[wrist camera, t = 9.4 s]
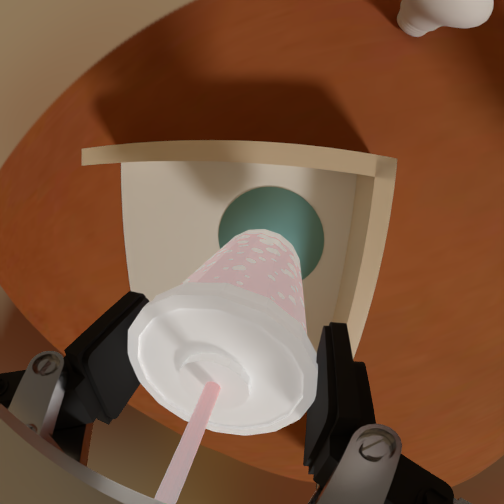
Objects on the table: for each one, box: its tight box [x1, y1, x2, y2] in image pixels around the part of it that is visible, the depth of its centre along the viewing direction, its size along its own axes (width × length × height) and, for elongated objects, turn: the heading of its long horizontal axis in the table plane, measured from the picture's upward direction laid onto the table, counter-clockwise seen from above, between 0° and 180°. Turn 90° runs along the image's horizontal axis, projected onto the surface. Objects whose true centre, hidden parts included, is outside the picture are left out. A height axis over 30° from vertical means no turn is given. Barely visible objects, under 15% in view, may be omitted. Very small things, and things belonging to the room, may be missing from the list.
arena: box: [82, 140, 397, 359], centre depth 20 cm, size 20×18×6 cm
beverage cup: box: [128, 229, 318, 504], centre depth 9 cm, size 6×6×14 cm
